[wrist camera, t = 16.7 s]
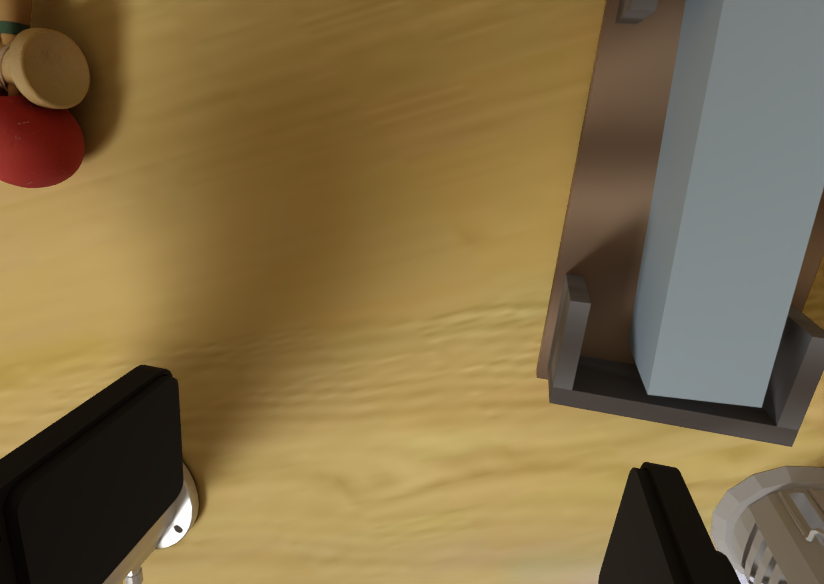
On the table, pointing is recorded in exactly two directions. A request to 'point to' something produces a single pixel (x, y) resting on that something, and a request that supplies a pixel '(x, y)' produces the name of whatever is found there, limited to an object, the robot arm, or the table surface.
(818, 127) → the grey rectangular block
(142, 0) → the table surface
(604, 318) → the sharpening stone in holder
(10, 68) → the kendama
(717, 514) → the french press
